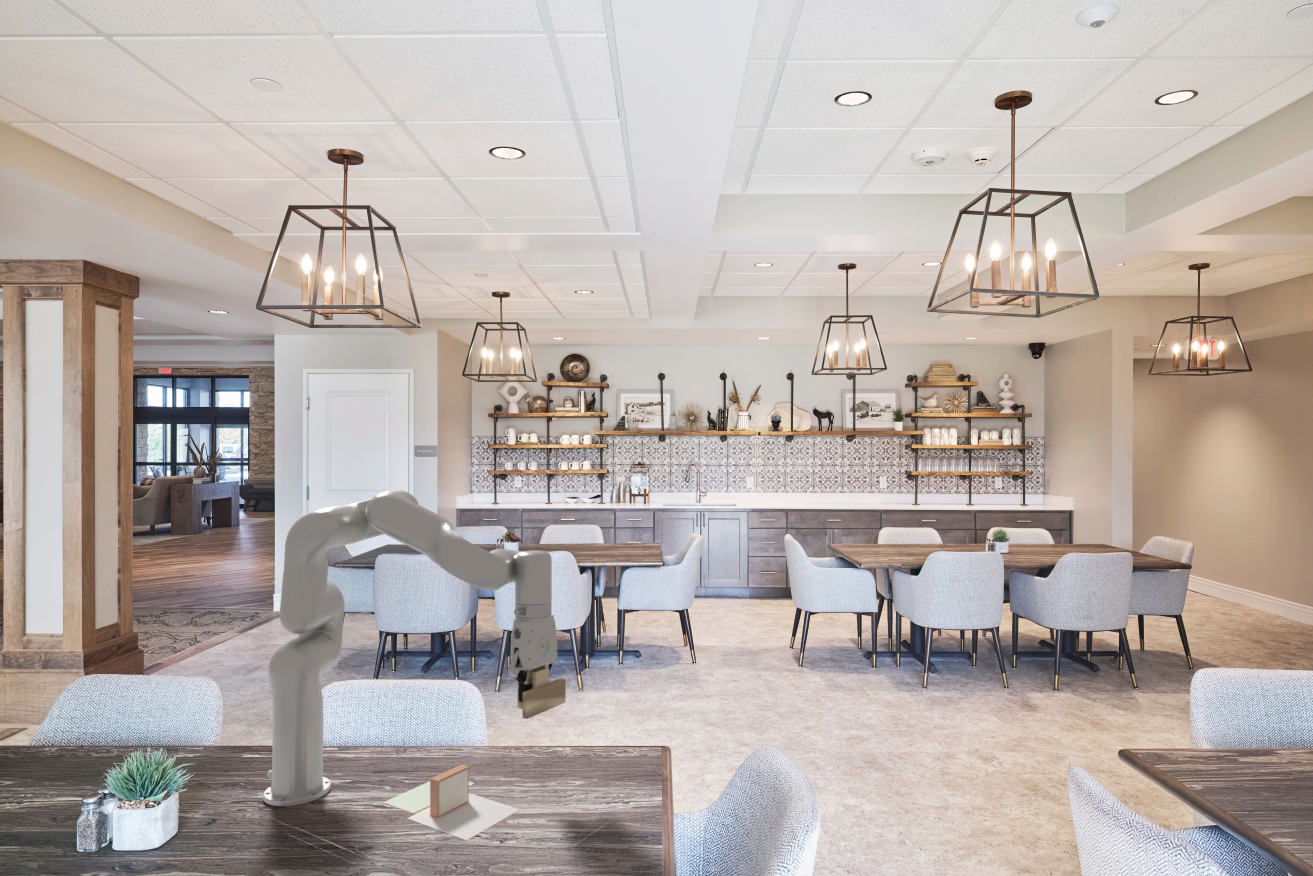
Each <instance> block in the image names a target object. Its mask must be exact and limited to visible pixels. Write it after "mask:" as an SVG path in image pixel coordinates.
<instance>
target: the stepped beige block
mask: <svg viewBox="0 0 1313 876" xmlns="http://www.w3.org/2000/svg"><path fill="white" fill-rule="evenodd" d="M525 672H526V671H523V674H524V675H525ZM549 673H550V671H549V668H546V667H539V668H536V669H533V670H532V671H531V678H530V683H531V684H532V689H531V690H528V691H525V692H523V702H519V683H517V708H518V709H519V710H520V709H521V710H522V718H523V719H527V720H528V719H530V718H532V717H536V716H537V715H539V714H542V713H544V712H547V711H549V710H552V709H553V708H556V707H559V706H561V705H564V704H566V697H567V695H566V692H567V691H566V690H567V689H566V680H567V679H566V678H565V677H560V678H557V679H554V680H552V681H550V674H549Z"/></svg>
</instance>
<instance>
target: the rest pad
mask: <svg viewBox="0 0 1313 876" xmlns="http://www.w3.org/2000/svg"><path fill="white" fill-rule="evenodd" d="M474 784H475V782H472V781H469V787H471V786H473V785H474ZM383 803H384V804H386V805H389V806H391V807H395V808H397V809H401V810H403V811H405V812H407V813H411V814H413V815H414V814H416V813H418V812H420V811H423V810H425V809H427V808H429V807H430V780H429V781H427V782H425V783H422V784H421V785H418V786H416V787H414V788H412V789H410V790H407V791H405V792H403V793H401V794H399V795H397V796H395V797H392V798H390V799H387V800H386V801H383Z"/></svg>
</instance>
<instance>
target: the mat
mask: <svg viewBox="0 0 1313 876" xmlns="http://www.w3.org/2000/svg"><path fill="white" fill-rule="evenodd" d="M518 811H521V809H520V808H517V807H514V806H511V805H509V804H505V803H501V802H498V801H496V800H492V799H489V798H487V797H486V798H485V797H482V796H480V795H476V794H473V793H470V792H469V802H468V803H466V804H464V805H462V806H460V807H458V808H456V809H454V810H452V811H451V812H449V813H447V814H445V815H443V816H441V817H439V818H435V817H432V816H430V806H428V807H426V808H424V809H422V810H420V811H418V812H416V813H414V814H413V815H410V816H409V817H407V818H406V819H408V820H409V821H413V822H415V823H418V824H421V825H423V826H426V827H429V828H432V829H434V830H436V831H439V832H441V833H442V832H443V833H445V834H448V835H451V836H453V837H456V838H459V839H461V840H464V841H468V840H471V839H472V838H473V837H475V836H477V835H478V834H481V833H482V832H485V830H487V829H489V828H491V827H493V826H494V825H497V824H498V823H499V822H501V821H503V820H504V819H507V818H509V817H510V816H513V814H515V813H517V812H518Z"/></svg>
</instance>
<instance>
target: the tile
mask: <svg viewBox="0 0 1313 876" xmlns="http://www.w3.org/2000/svg"><path fill="white" fill-rule="evenodd" d="M469 769H470V766H468V765H464V764H460V765H458V766H457V765H456V766H455V767H453V768H451V769H448V770H447V771H444V772H442V773H440V774H438V775H436V776H433V777H431V778H430V779H429V781H430V806H429V807H430V816H432V817H435V818H439V817H441V816H443V815H445V814H447V813H449V812H451V811H452V810H454V809H456V808H458V807H460V806H462V805H464V804H466V803H468V802H469V793H470V792H469V791H470V786H469V782H470V780H469V779H470V775H469V774H470V773H469V772H470V770H469Z"/></svg>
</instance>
